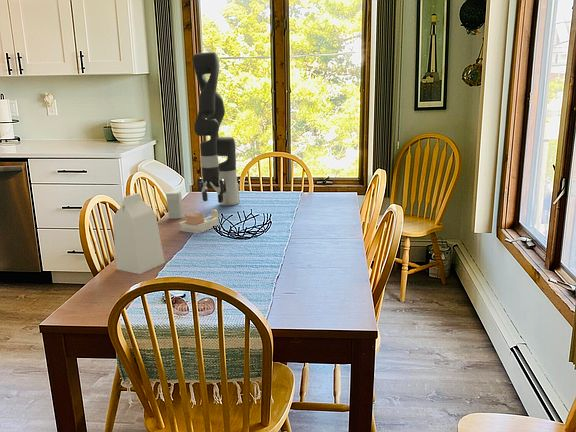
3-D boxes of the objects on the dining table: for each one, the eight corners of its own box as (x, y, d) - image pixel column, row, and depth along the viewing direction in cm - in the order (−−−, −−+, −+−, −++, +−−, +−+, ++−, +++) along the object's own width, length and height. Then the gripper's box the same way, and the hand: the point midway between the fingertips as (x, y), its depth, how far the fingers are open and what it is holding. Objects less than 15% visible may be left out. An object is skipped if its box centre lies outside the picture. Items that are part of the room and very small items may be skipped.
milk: (139, 274, 193) (130, 200, 186) (116, 269, 199) (106, 197, 192) (164, 262, 202) (156, 192, 195) (141, 258, 208) (133, 190, 201)
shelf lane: (200, 222, 251) (199, 215, 250) (219, 225, 245) (218, 217, 244) (180, 230, 240) (179, 222, 239) (199, 233, 235) (199, 225, 234)
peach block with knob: (211, 218, 254) (210, 205, 252) (222, 219, 251) (221, 206, 249) (186, 228, 240) (184, 215, 238) (197, 230, 237) (195, 216, 235)
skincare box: (183, 216, 263) (181, 191, 260) (181, 218, 259) (178, 193, 256) (171, 216, 264) (168, 191, 261) (168, 218, 260) (165, 193, 257)
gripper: (228, 164, 244) (230, 201, 248) (203, 163, 251) (206, 198, 255) (217, 167, 238) (220, 205, 242) (191, 166, 245) (195, 202, 249)
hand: (212, 201), depth 248 cm, fingers open, 8 cm apart
